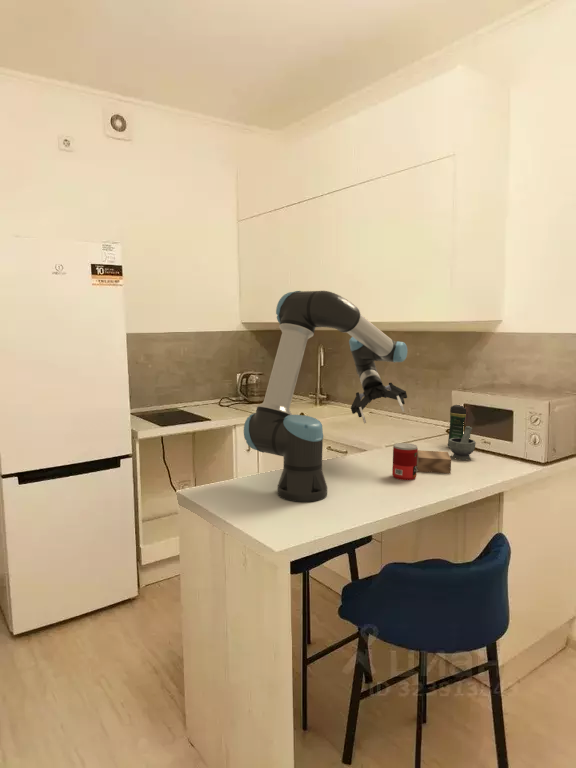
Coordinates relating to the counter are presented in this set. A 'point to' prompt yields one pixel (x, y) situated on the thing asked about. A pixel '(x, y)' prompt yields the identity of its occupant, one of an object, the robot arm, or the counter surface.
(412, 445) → the canned food
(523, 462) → the counter surface
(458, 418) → the coffee jar
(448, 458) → the block
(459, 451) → the mortar and pestle
